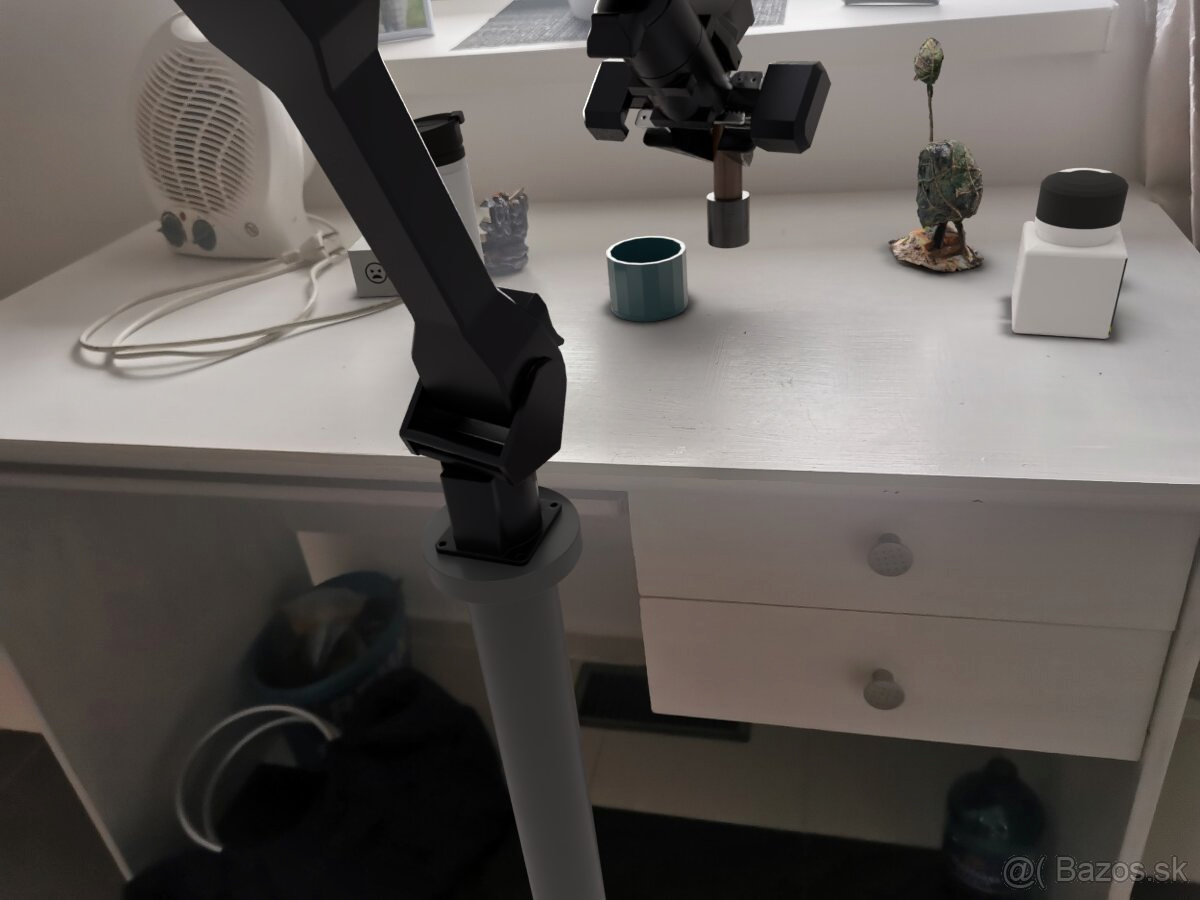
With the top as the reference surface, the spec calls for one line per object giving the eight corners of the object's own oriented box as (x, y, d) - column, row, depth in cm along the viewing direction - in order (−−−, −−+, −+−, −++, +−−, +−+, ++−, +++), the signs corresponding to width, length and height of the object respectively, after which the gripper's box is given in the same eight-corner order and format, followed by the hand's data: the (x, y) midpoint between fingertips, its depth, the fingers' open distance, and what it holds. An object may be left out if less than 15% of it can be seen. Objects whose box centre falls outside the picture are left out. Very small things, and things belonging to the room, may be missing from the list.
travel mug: (497, 359, 79) (457, 121, 68) (422, 365, 79) (370, 129, 68) (504, 329, 84) (468, 103, 73) (434, 334, 84) (388, 111, 74)
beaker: (676, 324, 82) (673, 266, 79) (600, 319, 84) (595, 262, 81) (696, 292, 87) (694, 237, 84) (625, 288, 90) (620, 234, 87)
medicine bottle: (1109, 340, 72) (1144, 189, 65) (1011, 334, 74) (1036, 188, 68) (1101, 304, 77) (1133, 161, 71) (1010, 299, 80) (1033, 161, 73)
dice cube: (405, 295, 93) (394, 248, 91) (358, 296, 94) (347, 250, 91) (419, 276, 97) (409, 231, 95) (374, 278, 98) (364, 233, 96)
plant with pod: (905, 286, 84) (928, 54, 73) (882, 243, 93) (899, 32, 83) (997, 281, 83) (1033, 45, 72) (964, 238, 93) (992, 24, 82)
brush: (757, 242, 78) (758, 108, 72) (720, 251, 77) (718, 116, 71) (736, 231, 80) (735, 101, 75) (700, 239, 79) (696, 109, 74)
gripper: (827, -70, 59) (872, 76, 72) (588, -55, 68) (667, 71, 81) (775, 85, 57) (831, 204, 71) (539, 78, 67) (628, 184, 80)
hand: (734, 160), depth 76 cm, fingers closed on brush, 2 cm apart
